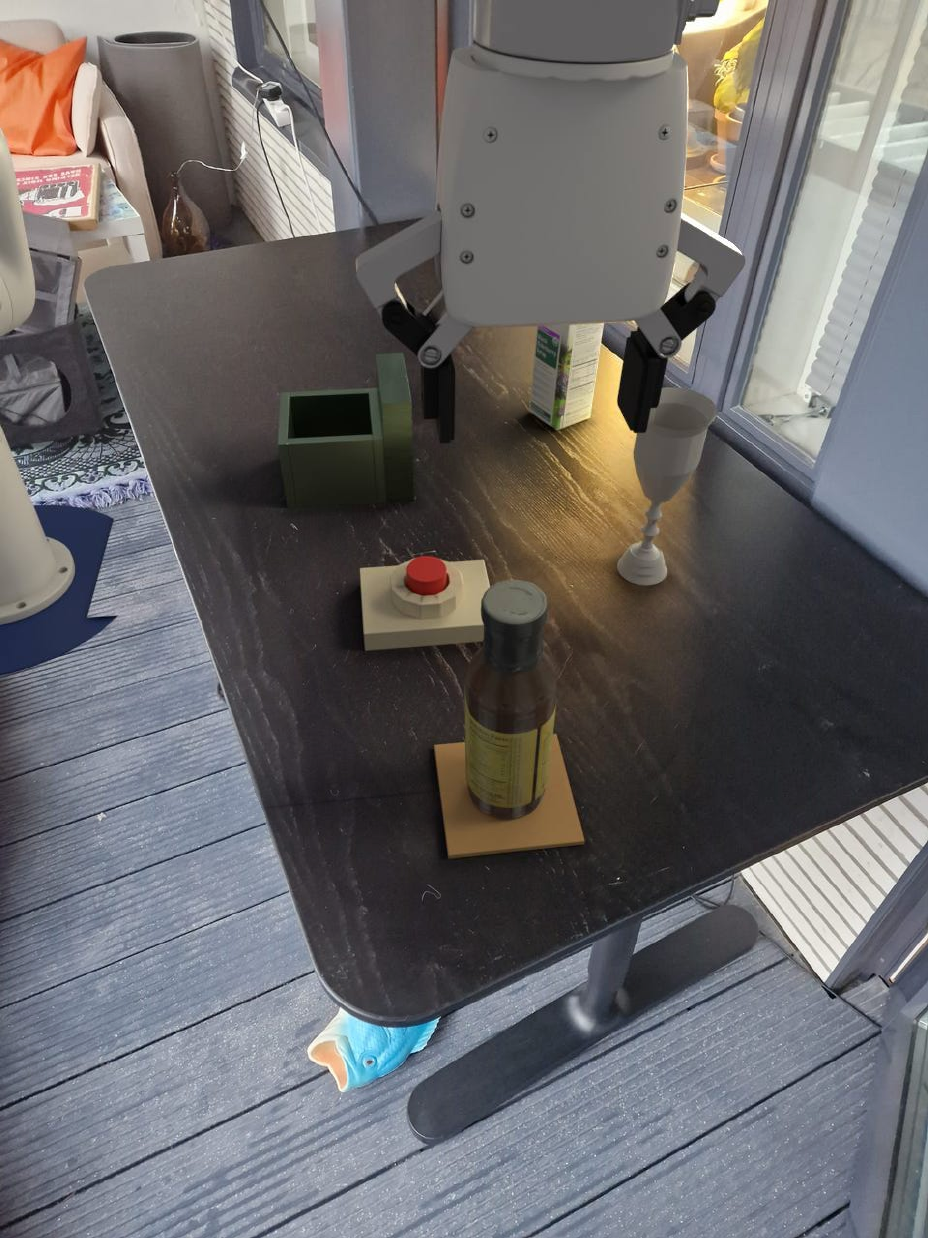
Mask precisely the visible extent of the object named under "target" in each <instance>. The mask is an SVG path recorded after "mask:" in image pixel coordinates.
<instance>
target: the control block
mask: <svg viewBox="0 0 928 1238" xmlns="http://www.w3.org/2000/svg"><path fill="white" fill-rule="evenodd" d="M415 558H416V557H414V558H411V559H409V560H407V561H405V562H403V563H400V564H398V565H385V566H384V565H383V566H371V567H360V568H359V580H360V582H359V583H360V597H361V613H362V629H363V630H362V632H363V643H364V651H380V650H392V649H405V648H406V649H407V648H416V647H417V648H419V647H431V646H443V645H445V646H446V645H457V644H468V643H469V644H470V643H471V644H472V643H483V639H484V624H483V622H482V618H481V601H482V598H483V596H484V594H485V592H486V591H487V590H488V589H489V588H490V587H491V584H490V580H489V575H488V571H487V567H486V562H485V560H484V559H475V560H474V559H473V560H459V561H448V560H444V559H441V558H439V559H440V560H441V561H443V562H444V564H445V565H446V587H445V589H444V590H443V591H442V592H440V593H438V594H436V595H428V596H422V595H418V594H415V593H413V592H411V591H410V590H409V588H408V586H407V573H406V568H407V565H408V564H409V562H410V561H412V560H413V559H415Z"/></svg>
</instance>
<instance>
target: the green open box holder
mask: <svg viewBox="0 0 928 1238" xmlns="http://www.w3.org/2000/svg"><path fill="white" fill-rule="evenodd" d="M374 355H375V370H376V372H375V373H376V387H369V388H368V387H367V388H349V389H348V388H346V389H345V388H344V389H325V390H324V389H323V390H303V391H301V390H299V391H281V392H280V395H279V415H278V434H277V448H278V455H279V462H280V467H281V468H280V469H281V475H282V482H283V488H284V494H285V501H286V507H287V509H299V508H300V509H301V508H316V507H317V508H318V507H331V506H332V507H333V506H349V505H351V506H353V505H367V504H384V503H402V502H403V503H404V502H414V501H415V489H414V487H415V486H414V450H413V449H414V448H413V446H414V445H413V411H412V410H413V409H412V398H411V391H410V385H409V379H408V374H407V373H408V372H407V368H406V362H405V355H404V352H393V353H392V352H391V353H390V352H389V353H376V354H374Z"/></svg>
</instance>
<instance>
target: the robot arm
mask: <svg viewBox="0 0 928 1238" xmlns="http://www.w3.org/2000/svg"><path fill="white" fill-rule="evenodd" d="M720 1H721V0H473V23H472V25H473V27H472V28H473V29H472V38H473V39H472V45H466V46H461V47H457V48H455V49H454V50H453V51H451V57H450V62H449V66H448V71H447V77H446V83H445V89H444V96H443V104H442V112H441V119H440V120H441V121H440V130H439V131H440V132H439V142H438V143H439V144H438V157H437V172H436V187H435V189H436V190H435V211H433V212H432V213H430V214H428V215H427V216H425V217H423V218H422V219H420V220H418V221H416V222H414V223H413V224H411V225H409V226H408V227H405V228H404V229H402V230H401V231H399V232H397V233H395V234H393V235H392V236H390V237H388V238H386V239H384V240H383V241H381V242H379V243H378V244H376V245H374V246H372V247H371V248H369V249H367V250H365V251H364V252H362V253H360V254H359V255H358V256H357V257H356V259H355V266H354V267H355V276H356V280H357V282H358V283H359V285H360V287H361V289H362V290H363V293H365V295H366V297H367V298H368V300H369V302H370V303H371V305H372V307H373V308H374V310H375V311H376V313H377V315H378V316H379V318H380V319H381V321H382V325H383V328H384V329H386V330H387V331H388V332H389V333H390V334H391V335H392V336H394V337H395V339H397V340H398V341H399V342H400V343H401V344H403V345H404V346H405V347H406V348H407V349H408V350H409V351H411V353H413V355H415V356H416V357H417V359H418V362H419V364H420V402H421V413H422V418H423V421H424V420H434V422H435V427H436V432H437V435H438V441H439V444H451V442H452V441H454V440H455V437H456V432H455V431H456V368H455V363H454V359H453V356H452V353H453V351H454V350H455V349H456V347H457V346H458V345H459V344H460V343H461V342H462V341H463V340H464V338H465V337H466V336H467V335H468V334H469V332H470V331H471V330H472V329H473V328H474V327H476V328H518V327H520V328H521V327H523V328H524V327H537V326H553V325H577V324H601V323H604V324H615V323H616V324H617V323H618V324H619V323H627V322H628V323H629V322H632V321H633V322H634V323H635V324H636V326H637V328H636V330H630V334H629V336H627V337H626V342H625V348H624V352H623V353H624V354H623V360H622V366H621V372H620V379H619V384H618V391H617V398H616V404H617V405H616V406H617V407H618V409H619V411H620V413H621V415H622V417H623V419H624V421H625V423H626V425H627V427H628V429H629V430H630V432H633V433H634V434H637V433H645V432H646V430H647V426H648V420H649V415H650V410H651V408H657V407H658V405H659V401H660V396H661V391H662V388H663V386H664V382H665V376H666V371H667V365H668V361H669V359H670V358H673V357H675V356H676V355H677V354H678V353H679V351H680V350H681V349H682V345H683V344H682V341H684V340H685V339H686V338H688V336H690V335H691V334H692V333H694V331H696V330H697V329H698V328H699V327H700V326H701V325H703V324H704V323H705V322H706V321H707V320H708V319H710V318H711V316H713V314H714V313H715V311H716V308H717V302H718V301H719V299H720V298H723V296H725V294H726V293H727V291H728V290H729V288H730V287H731V286H732V284H733V283H734V281H735V280H736V279H737V277H738V276H739V274H740V273H741V272H742V270H743V269H744V267H745V265H746V257H745V255H744V254H743V253H742V252H741V251H740V250H739V249H738V248H737V247H736V246H735V244H733V243H732V242H730V241H728V240H727V239H726V238H724V237H722V236H720V235H719V234H717V233H715V232H714V231H712V230H710V229H709V228H707V227H706V226H704V225H703V224H701V223H699V222H698V221H696V220H694V219H693V218H691V217H689V216H687V215H686V214H685V213H683V204H684V197H685V184H686V171H687V156H688V131H689V130H688V126H689V125H688V124H689V71H688V70H689V69H688V68H689V67H688V62H687V60H686V59H685V58H684V57H683V56H682V55H681V54H680V53H678V52H676V51H675V47H676V46H681V45H682V44H681V43H682V38H683V32H684V31H685V28H686V25H687V24H693V23H694V22H696V20H712V19H713V18H714V17H715V15H716V14H717V12H718V8H719V5H720ZM9 148H10V147H9V144H8V141H7V139H6V136H5V134H4V132H3V129H2V127H1V126H0V337H3V336H4V335H6V334H8V333H10V332H12V331H14V330H15V329H17V328H19V327H20V326H22V325H23V324H24V323H25V322H26V321H27V320H28V319H29V318H30V316H31V314H32V312H33V310H34V306H35V302H36V282H35V281H36V280H35V274H34V268H33V263H32V258H31V252H30V246H29V241H28V234H27V231H26V225H25V220H24V214H23V209H22V203H21V198H20V192H19V187H18V182H17V177H16V176H17V175H16V171H15V168H14V163H13V159H12V154H11V151H10V149H9ZM678 252H679V253H680V254H681V255H683V256H686V257H687V258H688V259H691V260H692V261H694V262H695V263H698V268H697V270H696V272H695V273H694V275H693V278H692V280H691V281H690V282H687V283H686V284H685V285H683V286H682V287H681V288H680V289H679V290H678V291H677V292H675V294H674V295H672V296H671V297H670V298H669V299H668V300H667V297H668V295H669V292H670V288H671V285H672V280H673V275H674V270H675V265H676V258H677V253H678ZM432 259H434V271H435V279H436V282H437V284H438V286H441V287H442V289H441V290H440V292H439V293H438V294H437V295H436V297H435V298H434V299H433V301H432V302H431V303H430V304H429V305H428V306H427V308H425V309H424V310H423V312H422V311H420V310H419V308H417V307H416V306H415V305H414V304H413V303H412V302H411V301H410V300H409V299H407V298H406V296H404V294H402V293H401V291H400V289H399V287H398V285H397V283H396V282H397V280H398V279H399V278H400V277H402V276H403V275H405V274H406V273H408V272H411V271H412V270H414V269H416V268H417V267H420V266H421V265H423V264H425V263H426V262H428V261H430V260H432ZM666 300H667V301H666ZM25 484H26V483H25V482H24V479H23V477H22V474H21V472H20V469H19V466H18V465H17V462H16V459H15V457H14V454H13V452H12V449H11V447H10V445H9V442H8V439H7V438H6V435H5V433H4V430H3V428H2V426H1V425H0V625H2V624H8V623H12V622H15V621H18V620H22V619H25V618H27V617H29V616H32V615H34V614H36V613H38V612H40V611H42V610H43V609H45V608H47V607H48V606H50V605H51V604H52V603H54V602H55V601H56V600H58V599H59V598H60V597H61V596H62V595H63V594H64V593H65V592H66V590H67V589H68V587H69V586H70V584H71V583H72V580H73V578H74V575H75V564H74V560H73V558H72V555H71V553H70V551H69V550H68V549H67V548H66V546H65V545H63V544H62V543H60V542H59V541H57V540H55V539H52V538H50V537H46V536H45V533H44V531H43V529H42V526H41V524H40V521H39V519H38V516H37V514H36V511H35V509H34V506H33V505H34V504H33V501H32V499H31V497H30V496H31V495H30V494H29V492H28V489H27V487H26V485H25Z"/></svg>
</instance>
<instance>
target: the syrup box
mask: <svg viewBox="0 0 928 1238" xmlns="http://www.w3.org/2000/svg"><path fill="white" fill-rule="evenodd" d="M604 325H605V323H601V324H577V325H553V326H536V332H535V346H534V355H533V356H534V357H533V367H532V378H531V387H530V399H529V407H528V411H529V413H530V414H532V415H534V416H536V418H538V419H539V420H541V421H542V422H544V423H545V424H547V425H548V426H549V427H551V428H553V429H554V430H555V431H559V430H563V429H565V428H568V427H570V426H573V425H575V424H578V423H580V422H582V421H586V420H588V419H591V415H592V408H593V407H592V406H593V401H594V394H595V387H596V380H597V374H598V367H599V360H600V353H601V346H602V339H603V332H604Z"/></svg>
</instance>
